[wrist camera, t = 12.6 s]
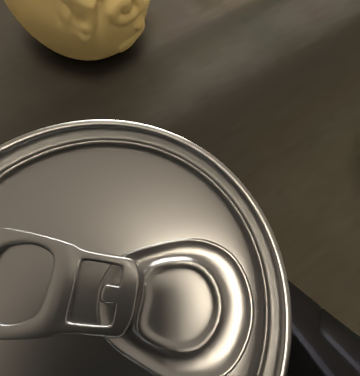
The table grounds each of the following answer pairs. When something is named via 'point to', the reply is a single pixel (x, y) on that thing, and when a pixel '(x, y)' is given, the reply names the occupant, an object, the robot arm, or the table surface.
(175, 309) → the can
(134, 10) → the sculpture
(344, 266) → the table surface
